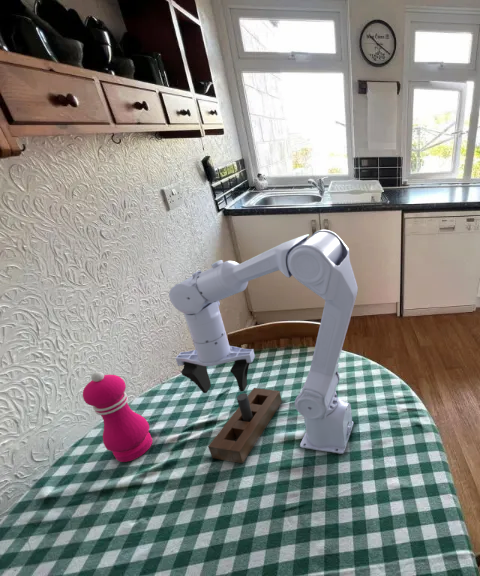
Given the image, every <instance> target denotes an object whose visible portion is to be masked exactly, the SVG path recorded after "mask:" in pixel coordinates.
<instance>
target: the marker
mask: <svg viewBox="0 0 480 576" xmlns="http://www.w3.org/2000/svg"><path fill="white" fill-rule="evenodd" d="M248 395H249V394H248V393H245V392H244V393H240V394H238V395H237V396H236V402H237V404H238V408H240V411H241V414H242V418H243V421H246V422H250V421H251V420H252V418H253V415H252V411H251V408H250V403H249V399H248Z"/></svg>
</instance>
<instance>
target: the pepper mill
mask: <svg viewBox="0 0 480 576" xmlns="http://www.w3.org/2000/svg"><path fill="white" fill-rule="evenodd" d="M90 376H91V377H90V379H91V381H89V382H88V383H87V384H86V385H85V386H84V388H83V391H82V398H83V401H84V402H85V403H86V404H87V405H89V406H92V409H93V410H94V413H95V414H96V415H99V416H101V418H102V420H103V432H102V442H103V445H104V447H105V449H106V450H107V451H109V452H112V455H113V456H114V458H115V459H116V461H117V462H120V463H127V462H131V461H133V460H136V459H138V458H140V457H142V456H143V455H144V454H145V453H146V452H148V450H149V449H151V447H152V444H153V438H152V435H151V433H150V432H149V431H150V423H149V422H148V421H147V419H146V418H145V417H144V416H142V415H141V414H139V413H137V412H135V411H134V410H133V409H131V407H130V405H129V403H128V401H129V396H128V395H127V392H126V389H127V385H126V382H125V380H124V379H123V378H122V377H120V376H119V375H116V374H105V373H104V372H102V371H96V372H95V371H94V373H92V374H91V375H90Z"/></svg>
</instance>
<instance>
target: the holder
mask: <svg viewBox="0 0 480 576" xmlns="http://www.w3.org/2000/svg"><path fill="white" fill-rule="evenodd" d="M247 395H248V399H249V403H250V408H251V411H252V415H253V418H252V420H251V421H250V422H246V421H243V418H242V414H241V411H240V408H239V407H237V409H236V410H235V411H234V413H233V414H232V415H231V416H230V418H229V419H228V420H227V421H226V423H224V426H222V428H221V429H220V430H219V432H218V433H217V434H216V435H215V437H214V438H213V440H212V441H211V442H210V443H209V444H208V445H207V448H208V450H209V452H210V455H211V458H212V459H215V460H220V461H225V462H230V463H231V462H232V463H236V464H237V463H238V464H244V462H245V461H246V460H247V457H248V456H249V455H250V453H251V452H252V450H253V448H254V447H255V445H256V443H257V442H258V441H259V439H260V437H261V436H262V434H263V433H264V431H265V430H266V427H267V426H268V425H269V424H270V422H271V420H272V418H273V417H274V415H275V413H276V412H277V410H278V409H279V407H280V406H281V404H282V402H283V400H282V396H281V391H280V390H275V389H268V388H267V389H266V388H259V387H254V388H252V390H251V391H250V392H249V393H248V394H247Z"/></svg>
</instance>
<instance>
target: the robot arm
mask: <svg viewBox="0 0 480 576" xmlns="http://www.w3.org/2000/svg"><path fill="white" fill-rule="evenodd" d="M309 236H310V234H304V235H301V236H298V237H295V238H293V239H290V240H287V241H284V242H282V243H280V244H278V245H276V246H274V247H272V248H270V249H267V250H265V251H263V252H261V253H259V254H257V255H256V256H253V257H251V258H249V259H247V260H245V261H243V262H241V263H239V262H237V261H234V260H225V261H224V260H222V259H219V260H216V261H215V262H213V263H212V264H211V267H209V268H208V269H206V270H204V271H202V270H201V269H200V270H196V271H195V272H193V273H192V274H191V276H190V277H187V278H186V279H185V280H182V281H180V282H179V283H176V284H174V286H173V287H171V289H169V292H168V297H169V300H170V303H171V304H172V305H173V307H174V308H175V309H176V310H177V311H179V312H180V313H182V314H183V317H184V319H185V322H186V325H187V328H188V331H189V334H190V337H191V340H192V343H193V347H194V349H193V350H188V351H180V352H179V354H177V356H175V358H174V359H175V361H176V364H177V366H178V367H182V366H183V368H182V370H181V371H180V372H181V375H182V376H183V377H186V378H187V379H188V380H190V381H192V382H193V383H194V384H195V385H196V386H197V387H198V388H199V390H200V391H201V392H202V393H203V394H207V393H208V392H209V390H210V389H211V387H212V383H211V378H210V376H209V372H208V367H214V366H218V365H222V364H227V363H231V362H234V364H233V365H232V366H231V368H230V372H231V374H232V375H233V376H234V378H235V380H236V383H237V386H238V389H239V392H245V390H246V388H247V386H248V374H249V373H248V372H249V369H250V365H251V363H253V361H254V360H255V357H256V355H255V350H254V348H244V347H238V346H234V345H230V343H229V340H228V336H227V332H226V328H225V324H224V321H223V317H222V313H221V311H220V305H221V302H220V301H222V300H225V299H227V298H229V297H231V296H235V295H237V294H239V293H242V292H244V291H245V290H246V289H247V287H248V285H249V281H253V280H255V279H258V278H261V277H264V276H267V275H270V274H272V273H275V272H278V271H279V272H281V274H283V275H284V276H285V278H287V279H288V278H292V277H293V278H294V279H295V280H296V281H297V282H299V283H300V284H302V285H303V286H304V287H306V288H307V289H309V290H310V291H311V292H313V293H314V294H316V295H317V296H319V297H320V298H321V299H323V300H324V301H325V302H324V305H323V309H322V314H321V319H320V324H319V328H318V333H317V337H316V340H315V344H314V345H315V346H314V350H313V356H312V359H311V364H310V369H309V371H308V373H307V376H306V379H305V381H304V384H303V387H302V388H301V390H300V392H299V394H298V395H297V396H296V397H295V399H294V407H295V410H296V411H297V412H298V413H299V414H300V416H302V417H303V420H304V426H305V433H304V435H303V437H302V440H301V442H300V444H299V447H300V448H302V449H309V450H314V451H320V452H321V451H322V452H328V453H333V454H339V455H343V454H344V453H345V451H346V447H347V445H348V442H349V439H350V437H351V432H352V429H353V427H354V421H353V415H352V413H353V412H352V405H351V403H350V402H347V401H344V400H341V399H340V398H339V396H338V394H337V390H336V389H337V387H338V384H340V383H339V382H340V379H341V377H340V376H341V375H340V373H339V366H340V364H339V361H340V358H341V355H342V350H343V347H344V343H345V339H346V336H347V333H348V329H349V325H350V322H351V317H352V314H353V310H354V307H355V304H356V299H357V296H358V291H359V287H358V283H357V280H356V276H355V274H354V273H355V272H354V270H353V266H352V263H351V257H350V249H349V247H348V246H347V244H346V243H345V241H343V240H342V238H341V237H340V236H339V235H338V233H335V232H334V231H332V230H329V229H320V230H316V231H315V232H314V233H313V234H312V235H311V236H310V237H309Z"/></svg>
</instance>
